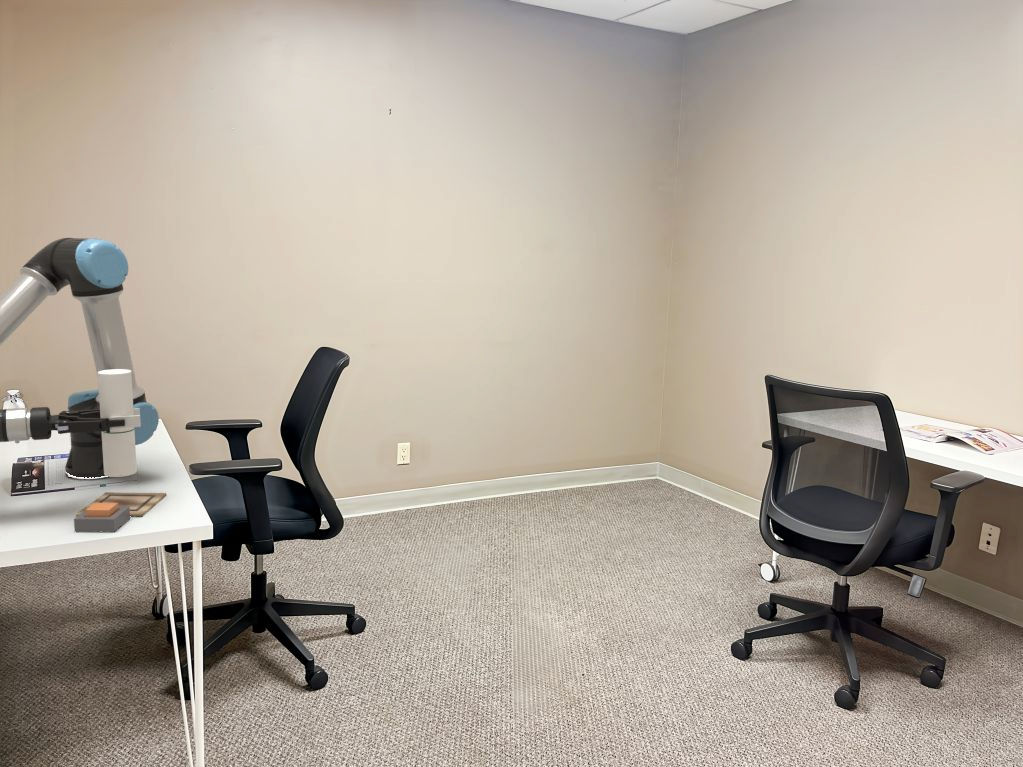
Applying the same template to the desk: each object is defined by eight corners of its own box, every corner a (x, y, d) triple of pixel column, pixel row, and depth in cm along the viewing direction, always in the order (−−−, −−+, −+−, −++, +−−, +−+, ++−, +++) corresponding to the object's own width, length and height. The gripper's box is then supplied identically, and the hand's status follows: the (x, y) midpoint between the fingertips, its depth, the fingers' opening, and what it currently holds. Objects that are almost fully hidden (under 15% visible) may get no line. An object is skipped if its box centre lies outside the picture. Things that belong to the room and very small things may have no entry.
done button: (96, 514, 182) (95, 502, 181) (118, 515, 182) (117, 502, 181) (86, 522, 177) (85, 510, 176) (109, 522, 177) (108, 510, 177)
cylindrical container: (128, 466, 196) (122, 368, 192) (142, 472, 192) (136, 372, 187) (98, 472, 191) (92, 371, 186) (112, 478, 186) (105, 375, 182)
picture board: (105, 494, 200) (105, 491, 200) (166, 495, 201) (166, 492, 201) (76, 516, 184) (75, 513, 184) (141, 517, 186) (141, 513, 185)
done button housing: (92, 518, 184) (91, 506, 183) (130, 518, 184) (129, 506, 184) (74, 531, 175) (73, 519, 175) (114, 532, 176) (113, 519, 175)
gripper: (36, 429, 190) (140, 423, 200) (26, 450, 173) (141, 442, 183) (33, 399, 189) (138, 394, 199) (24, 417, 171) (140, 410, 181)
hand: (140, 417), depth 191 cm, fingers closed on cylindrical container, 7 cm apart
